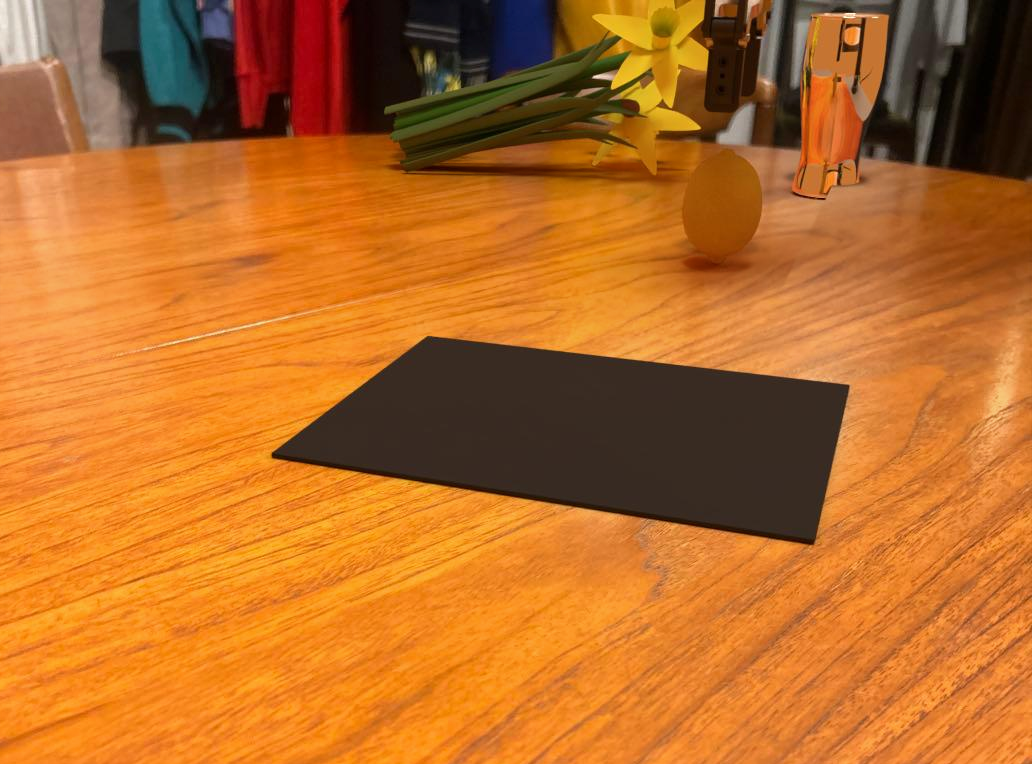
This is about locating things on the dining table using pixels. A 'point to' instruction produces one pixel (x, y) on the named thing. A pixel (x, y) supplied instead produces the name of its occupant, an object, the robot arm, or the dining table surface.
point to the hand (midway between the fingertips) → (730, 103)
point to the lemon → (722, 205)
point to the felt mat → (593, 434)
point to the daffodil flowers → (566, 95)
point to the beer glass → (838, 97)
